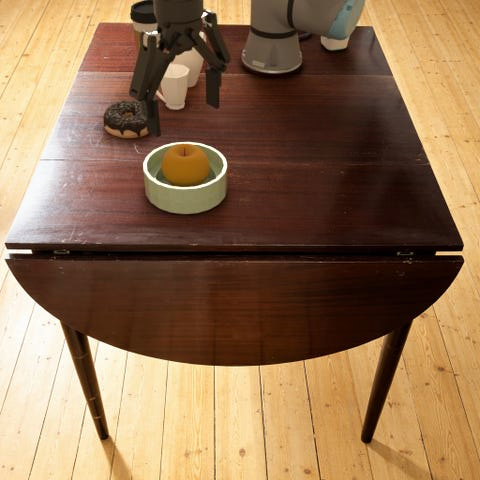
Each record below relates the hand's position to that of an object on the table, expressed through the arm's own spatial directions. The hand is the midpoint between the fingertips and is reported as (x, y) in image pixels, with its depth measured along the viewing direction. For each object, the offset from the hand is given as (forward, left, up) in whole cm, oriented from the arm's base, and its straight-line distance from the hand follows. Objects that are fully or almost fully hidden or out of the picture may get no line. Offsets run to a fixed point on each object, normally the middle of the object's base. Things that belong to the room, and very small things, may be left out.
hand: (184, 119), depth 106 cm
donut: (-7, -26, -15) cm, 31 cm away
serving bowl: (0, 0, -15) cm, 15 cm away
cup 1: (-20, -28, -15) cm, 37 cm away
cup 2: (-72, -22, -15) cm, 76 cm away
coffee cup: (-28, -44, -15) cm, 54 cm away
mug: (-31, -33, -15) cm, 47 cm away
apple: (0, 0, -15) cm, 15 cm away
